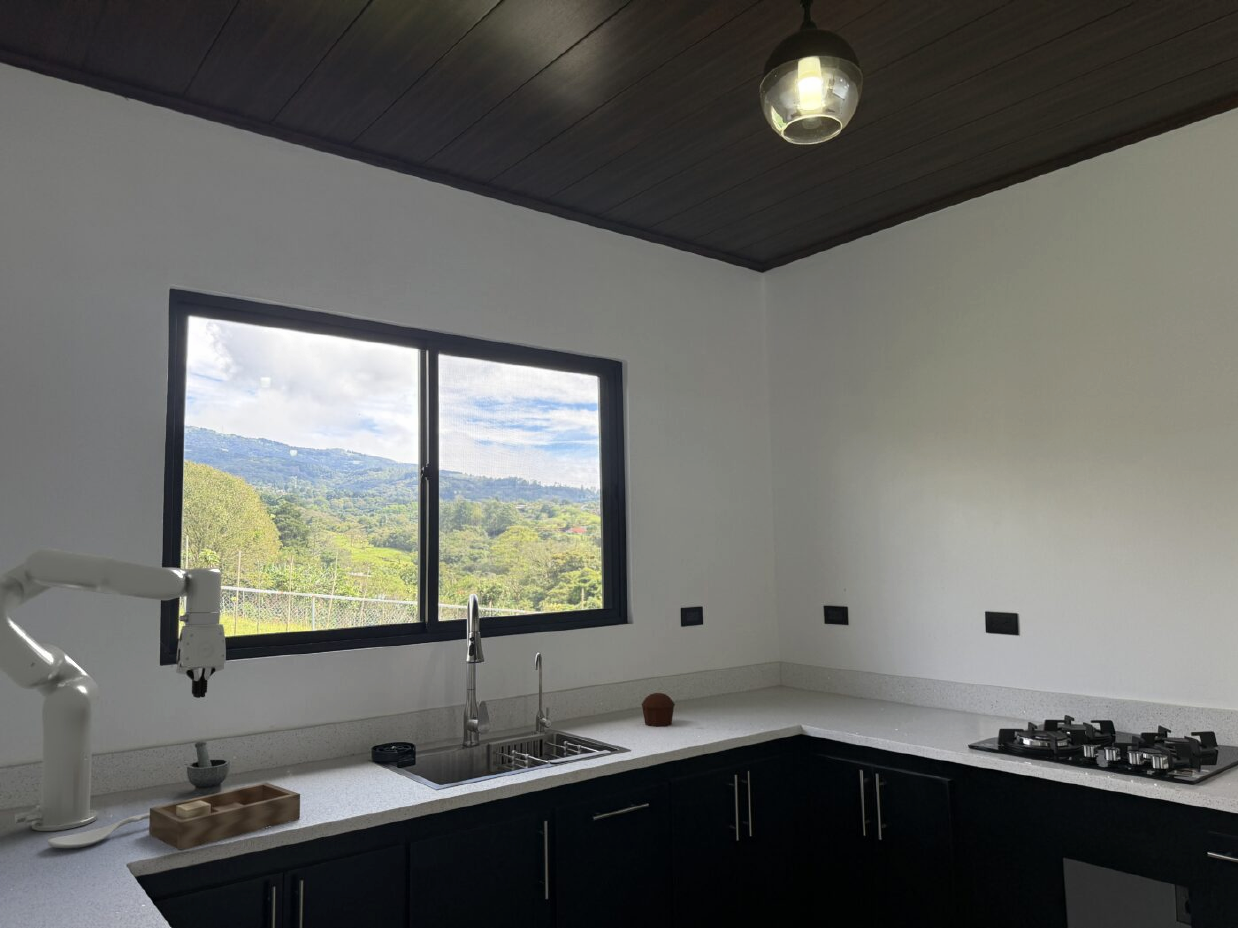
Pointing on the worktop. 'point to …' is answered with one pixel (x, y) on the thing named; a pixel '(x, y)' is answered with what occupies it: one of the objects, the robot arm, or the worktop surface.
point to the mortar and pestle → (207, 771)
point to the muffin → (658, 710)
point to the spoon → (91, 834)
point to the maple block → (193, 809)
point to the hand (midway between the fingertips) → (199, 696)
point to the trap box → (225, 815)
